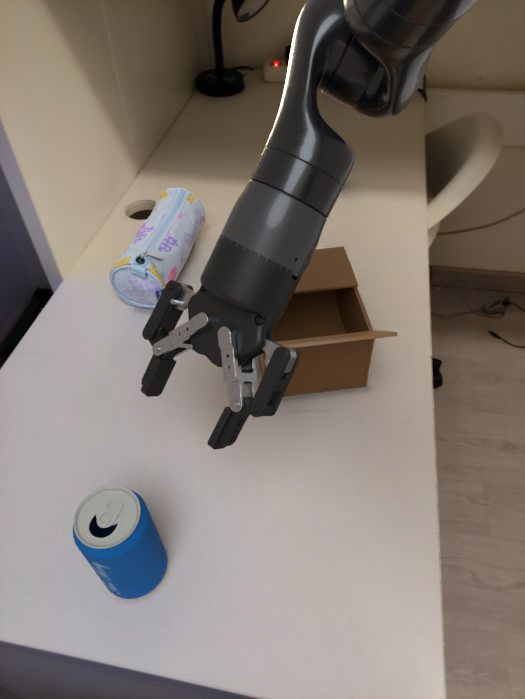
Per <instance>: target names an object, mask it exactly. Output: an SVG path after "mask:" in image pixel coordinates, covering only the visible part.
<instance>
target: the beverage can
mask: <svg viewBox="0 0 525 699" xmlns="http://www.w3.org/2000/svg"><path fill="white" fill-rule="evenodd" d="M72 537H73V542H74V544H75V545H76V548H78V550H79V551H80V553H81V554H82V555H83V557H84V558H85V560H86V562H87V563H88V564H89V565H90V566H91V568H92V569H93V571H94V572H95V574H96V575H97V576H98V577H99V580H101V582H102V583H103V585H104V586H105V587H106V589H107V590H108V591H109V592H110V593H111V594H113V595H114V596H115V597H117V598H121V599H126V600H128V599H129V600H133V599H137V598H141V597H143V596H146V595H148V594H149V593H151V592H152V591H153V590H154V589H155V588H156V587H157V586H159V585H160V583H161V581H162V580H163V579H164V577H165V574H166V571H167V565H168V553H167V550H166V548H165V544H164V543H163V541H162V538H161V536H160V534H159V532H158V529H157V527H156V524H155V522H154V520H153V517H152V515H151V512H150V510H149V508H148V505H147V503H146V501H145V499H144V498H143V497H142V496H141V495H140V494H139V493H137V492H136V491H134V490H133V489H130V488H128V487H126V486H123V485H119V484H109V485H104V486H101V487H99V488H96V489H94V490H92V491H91V492H90V493H88V494H87V495H85V497H83V499H82V500H81V502H80V503H79V504H78V506H77V507H76V510H75V512H74V516H73V522H72Z"/></svg>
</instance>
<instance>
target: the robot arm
mask: <svg viewBox="0 0 525 699" xmlns="http://www.w3.org/2000/svg"><path fill="white" fill-rule="evenodd" d="M478 1H479V0H307V1H306V2H305V4H304V5H303V7H302V9H301V10H300V13H299V15H298V18H297V20H296V22H295V27H294V32H293V35H292V39H291V47H290V52H289V59H288V64H287V72H286V76H285V82H284V87H283V92H282V96H281V100H280V104H279V108H278V112H277V115H276V118H275V119H274V124H273V127H272V129H271V131H270V133H269V136H268V139H267V140H266V143H265V145H264V148H263V150H262V152H261V154H260V156H259V158H258V161H257V163H256V165H255V167H254V169H253V170H252V173H251V175H250V178H249V179H250V180H248V182H247V184H246V185H245V187H244V189H243V190H242V192H241V193H240V195H239V196H238V198H237V200H236V201H235V203H234V205H233V207H232V209H231V211H230V213H229V215H228V217H227V219H226V221H225V224H224V226H223V227H222V230H221V232H220V234H219V237H218V239H217V241H216V243H215V245H214V247H213V249H212V251H211V254H210V256H209V258H208V260H207V263H206V264H205V266H204V269H203V270H202V273H201V275H200V279H199V281H200V283H201V284H200V287H199V289H197V291H196V292H195V291H194V288H193V287H194V286H192V285H190V284H187V283H184V282H180V281H178V280H176V281H174V280H170V281H169V282H168V283H167V285H166V287H165V288H164V290H163V292H162V294H161V296H160V298H159V300H158V302H157V304H156V306H155V308H154V309H152V312H151V314H150V316H149V318H148V320H147V322H146V323H145V325H144V328H142V333H141V334H142V335H141V336H142V338H143V340H146V341H148V342H149V343H150V345H151V347H152V350H151V351H152V356H151V358H150V361H149V362H148V365H147V367H146V369H145V371H144V373H143V376H142V377H141V388H140V392H141V393H142V394H143V395H144V396H146V397H147V398H149V397H159V396H161V395H162V394H163V392H164V389H165V388H166V386H167V383H168V381H169V380H170V377H171V375H172V373H173V370H174V368H175V366H176V364H177V362H178V361H177V360H176V359H174V358H177V357H179V356H181V355H183V354H185V353H186V352H188V351H190V350H192V351H193V352H195V353H197V354H198V355H202V356H205V357H206V358H207V359H208V361H210V363H211V364H213V365H214V366H216V367H217V368H221V369H222V378H223V382H224V383H225V384H226V386H227V395H228V404H229V406H224V407H223V410H222V412H221V414H220V416H219V418H218V420H217V422H216V424H215V425H214V426H215V427H214V428H213V430H212V431H211V434H210V436H209V438H208V440H207V446H209V447H210V448H211V449H213V450H214V451H216V450H221V449H226V447H230V446H233V445H234V443H236V441H237V440H238V437H239V435H240V434H241V432H242V430H243V428H244V426H245V424H246V422H247V420H248V418H249V417H250V416H251V417H253V418H262V417H273V416H275V415H276V413H277V412H278V409H279V407H280V405H281V403H282V400H283V398H284V397H283V396H284V394H285V391H286V389H287V387H288V385H289V382H290V380H291V378H292V376H293V374H294V371H295V369H296V367H297V365H298V362H299V360H300V353H299V351H298V350H296V349H292V348H287V347H284V346H282V345H280V344H279V343H277V342H275V341H273V340H272V335H273V329H274V327H275V325H276V324H277V322H278V321H279V320H280V318H281V317H282V315H283V313H284V311H285V309H286V307H287V305H288V303H289V301H290V299H291V297H292V295H293V293H294V291H295V289H296V287H297V285H298V283H299V281H300V279H301V277H302V275H303V273H304V271H305V270H306V269H307V267H308V266H309V264H310V261H311V257H312V255H313V253H314V251H315V249H317V247H318V245H319V242H320V239H321V236H322V233H323V230H324V228H325V225H326V223H327V221H328V218H329V217H330V214H331V213H332V210H333V208H334V206H335V205H336V202H337V201H338V198H339V196H340V195H341V193H342V191H343V188H345V185H346V182H347V181H348V179H349V177H350V175H351V173H352V170H353V167H354V164H355V159H356V154H355V151H354V150H353V147H352V146H351V144H350V143H349V142H348V141H347V140H346V139H345V138H344V137H343V136H342V135H341V134H340V133H339V132H338V131H337V130H336V129H335V128H333V127H332V126H331V124H329V123H328V121H326V119H325V118H324V117H323V115H322V113H321V110H320V108H319V103H318V92H320V93H322V94H323V95H325V96H326V97H328V98H330V99H332V100H333V101H335V102H337V103H339V104H340V105H342V106H345V107H346V108H347V109H350V110H351V111H353V112H354V113H356V114H358V115H360V116H362V117H364V118H366V119H369V120H373V121H384V120H389V119H391V118H394V117H396V116H398V115H399V114H400V113H402V112H403V111H404V110H405V109H406V108H407V107H408V105H409V104H410V103H411V101H413V99H414V97H415V95H416V94H417V92H418V90H419V88H420V86H421V84H422V81H423V79H424V77H425V74H426V71H427V68H428V65H429V62H430V59H431V57H432V54H433V51H434V49H435V48H436V46H437V45H438V43H439V42H440V40H441V39H442V38H443V37H444V36H445V35H446V34H447V32H449V31H450V30H451V29H452V27H453V26H454V25H455V24H456V23H458V21H459V20H460V19H462V17H464V15H465V14H466V13H468V11H469V10H470V9H471V8H472V7H473V6H474V5H476V3H477V2H478ZM186 310H187V315H188V321H186V322H184V323H183V324H180V325H179V326H177V325H178V323H179V321H180V319H181V317H182V315H183V314H184V311H186ZM176 326H177V327H176ZM263 353H265V354H266V359H265V361H264V362H265V365H266V367H267V368H266V370H265V373H264V375H263V377H262V376H261V380H260V382H259V384H258V386H257V389H256V383H257V382H258V370H257V361H256V358H258V357H259V355H261V354H263ZM239 367H240V368H239Z"/></svg>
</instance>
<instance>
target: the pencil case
mask: <svg viewBox="0 0 525 699" xmlns="http://www.w3.org/2000/svg"><path fill="white" fill-rule="evenodd" d="M205 224H206V211H205V208H204V204H203V203H202V201H201V199H199V198H198V197H197V196H196V195H194V194H193V193H192V191H190V190H188V189H185V188H182V187H170V188H166V189H164V190H163V191H162V192H161V193H160V194H159V195H158V196H157V199H156V202H155V203H154V207H153V209H152V211H151V212H150V214H149V216H148V217H147V219H146V220H145V221H144V222H143V224H142V225H141V226H140V228H139V229H138V231H137V232H136V233H135V235H134V236H133V238H132V240H131V241H130V244H128V247H127V248H126V250H125V251H124V253H123V254H122V256H121V257H120V259H119V260H118V262H116V263H115V264H114V265H113V266H112V267H111V269H110V271H109V281H110V285H111V286H112V289H113V290H114V292H115V294H116V295H117V296H118V297H119V298H120V299H121V300H122V301H124V303H126V304H128V305H130V306H133V307H138V308H144V309H152V310H154V308H155V306H156V304H157V302H158V300H159V298H160V296H161V294H162V292H163V290H164V288H165V287H166V285H167V283H168V282H169V281H170V280H174V281H177V279H178V278H179V276H180V274H181V273H182V270H183V269H184V267H185V265H186V263H187V261H188V258H189V256H190V254H191V252H192V249H193V248H194V247H193V246H194V244H195V241H196V239H197V237H198V236H199V234H200V232H201V230H202V229H203V227H204V225H205Z"/></svg>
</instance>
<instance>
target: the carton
mask: <svg viewBox="0 0 525 699" xmlns="http://www.w3.org/2000/svg"><path fill="white" fill-rule="evenodd" d="M358 287H359V283H358V280H357V277H356V275H355V272H354V270H353V267H352V264H351V262H350V258H349V256H348V253H347V251H346V248H345V246H336V247H334V246H333V247H326V248H316V249H315V251H314V253H313V255H312V257H311V261H310V264H309V266H308V267H307V269H306V270H305V271H304V273H303V275H302V277H301V279H300V281H299V283H298V285H297V287H296V289H295V291H294V293H293V295H292V297H291V299H290V301H289V303H288V305H287V307H286V309H285V311H284V313H283V315H282V317H281V318H280V320H279V321H278V322H277V324H276V325H275V327H274V329H273V335H272V340H273V341H275V342H278V341H286V340H295V339H304V338H312V337H321V336H330V335H338V334H347V333H355V332H364V331H373V330H374V328H373V326H372V323H371V320H370V318H369V315H368V312H367V310H366V307H365V304H364V302H363V299H362V296H361V293H360V291H359V288H358ZM374 344H375V339H367V340H359V341H350V342H341V343H333V344H324V345H316V346H307V347H299V348H292V349H296V350H298V351H299V353H300V360H299V362H298V365H297V367H296V369H295V371H294V374H293V376H292V378H291V380H290V382H289V385H288V387H287V389H286V391H285V394H284V396H283V398H285V397H293V396H300V395H307V394H308V395H309V394H317V393H325V392H332V391H333V392H334V391H341V390H350V389H357V388H358V389H359V388H367V383H368V380H369V372H370V367H371V363H372V362H371V361H372V356H373V350H374ZM265 359H266V354H265V353H263V354H261V355H259V356H258V361H259V367H260V374H261V378H262V377H263V375H264V373H265V370H266V368H267V367H266V365H265V362H264V361H265Z"/></svg>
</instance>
